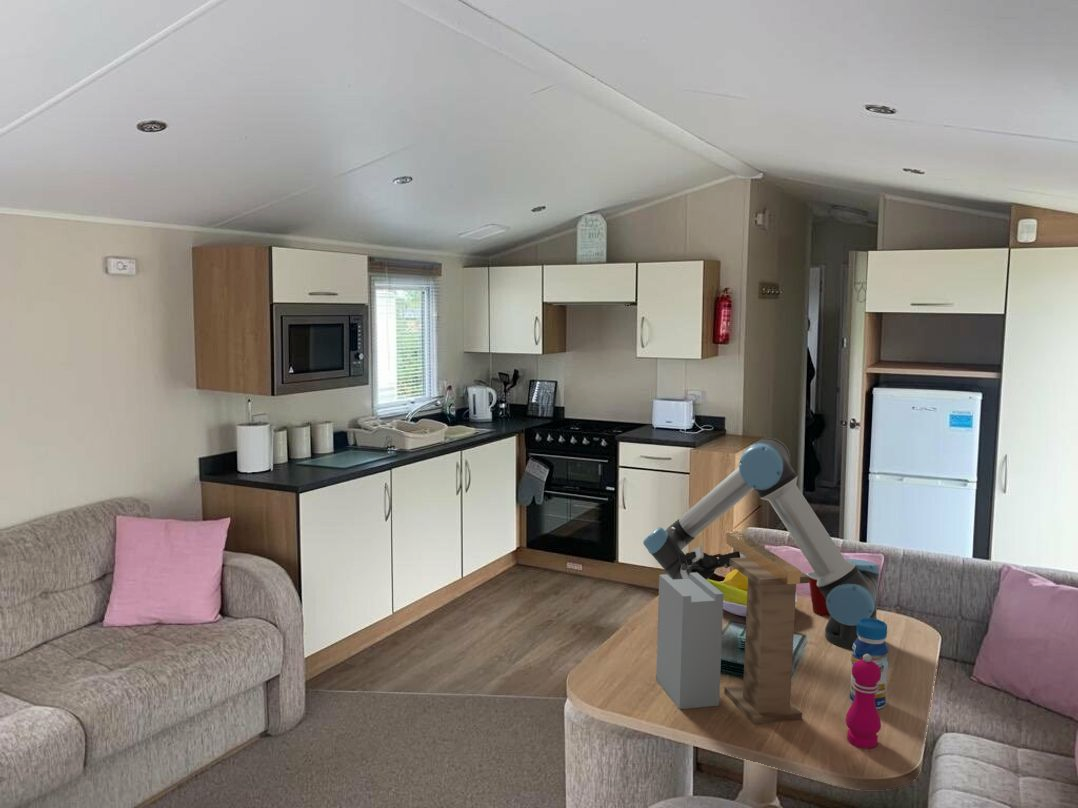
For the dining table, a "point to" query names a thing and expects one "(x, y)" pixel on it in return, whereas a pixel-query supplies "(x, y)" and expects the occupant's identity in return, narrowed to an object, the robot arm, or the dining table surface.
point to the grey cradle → (689, 640)
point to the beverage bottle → (872, 653)
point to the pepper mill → (864, 704)
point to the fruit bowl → (734, 592)
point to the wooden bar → (764, 558)
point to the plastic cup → (817, 596)
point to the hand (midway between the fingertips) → (726, 549)
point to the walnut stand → (767, 646)
